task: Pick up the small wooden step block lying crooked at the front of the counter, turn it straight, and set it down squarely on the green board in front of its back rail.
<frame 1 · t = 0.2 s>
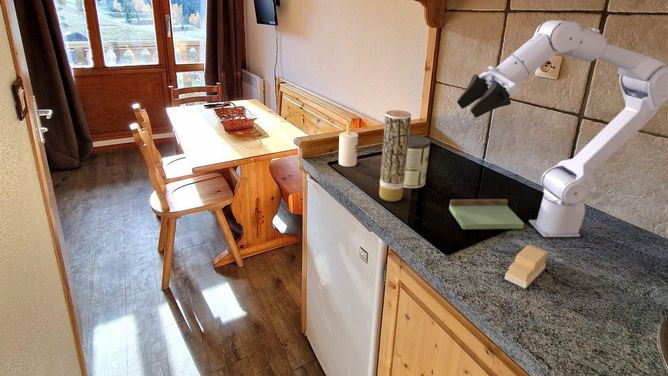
hand: (465, 109, 88), 31 cm above the worktop, tool tilted 45°, fingers open, 7 cm apart
coffee can: (408, 182, 129), on the worktop
wooden step block: (524, 273, 87), on the worktop
green board: (484, 218, 108), on the worktop
candle: (347, 163, 142), on the worktop
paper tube: (390, 197, 119), on the worktop
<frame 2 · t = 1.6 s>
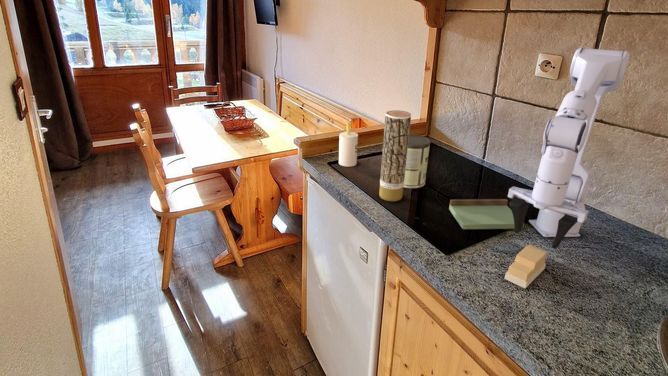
hand: (536, 238, 84), 8 cm above the worktop, tool pointing down, fingers open, 7 cm apart
nothing on the worktop moved.
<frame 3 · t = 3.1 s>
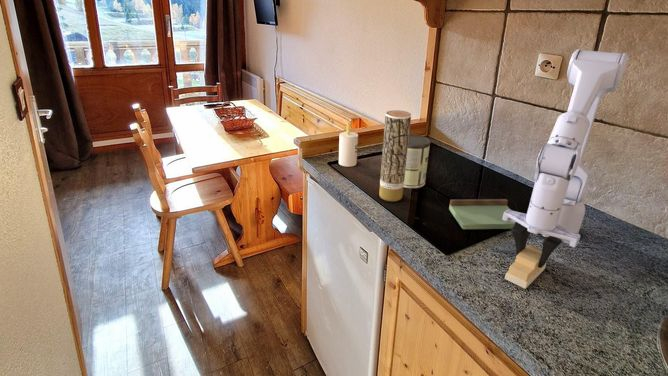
hand: (530, 260, 86), 3 cm above the worktop, tool pointing down, fingers closed on wooden step block, 4 cm apart
wooden step block: (524, 273, 87), on the worktop, touching gripper
everything else where it was.
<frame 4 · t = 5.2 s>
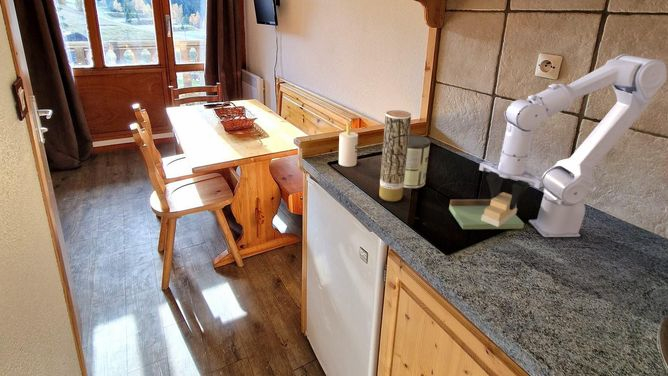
hand: (502, 205, 99), 7 cm above the worktop, tool pointing down, fingers closed on wooden step block, 4 cm apart
wooden step block: (498, 216, 100), point 4 cm above the worktop, touching gripper
everything else where it was.
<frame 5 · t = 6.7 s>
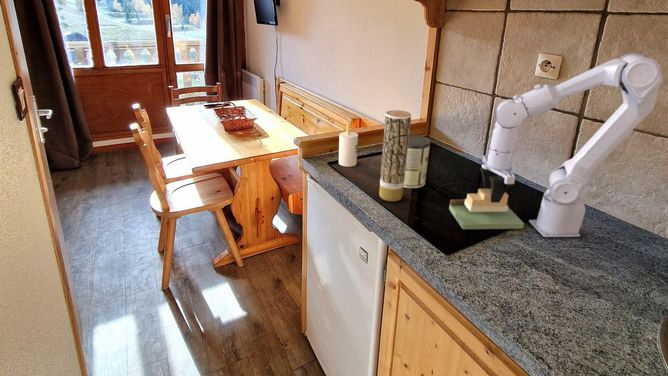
hand: (491, 197, 106), 6 cm above the worktop, tool pointing down, fingers closed on wooden step block, 4 cm apart
wooden step block: (485, 207, 107), point 3 cm above the worktop, touching gripper
everything else where it was.
when the fingers open (4 cm above the worktop, at t = 7.6 s): wooden step block stays where it is, resting on green board.
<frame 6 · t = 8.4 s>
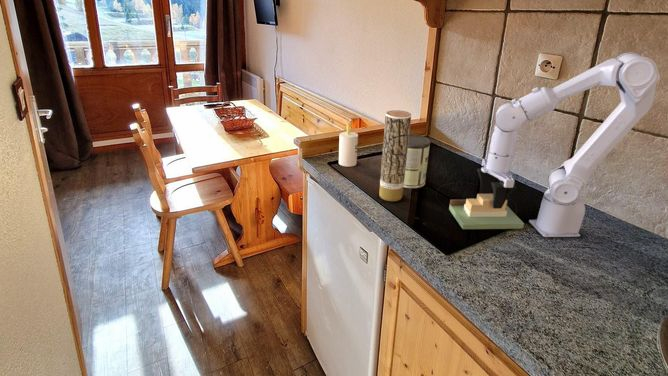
hand: (490, 201, 107), 5 cm above the worktop, tool pointing down, fingers open, 7 cm apart
wooden step block: (484, 212, 108), point 1 cm above the worktop, touching green board
everything else where it was.
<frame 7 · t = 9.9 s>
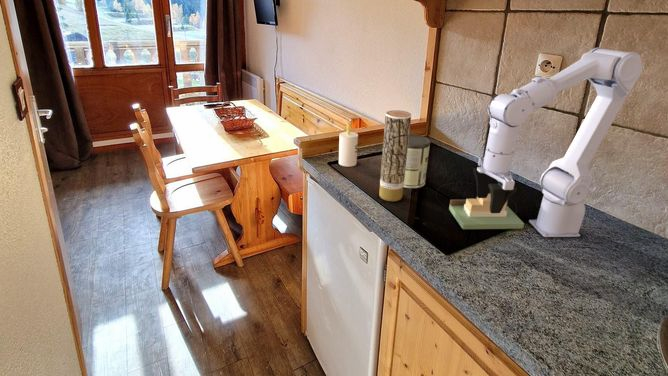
hand: (488, 204, 95), 9 cm above the worktop, tool pointing down, fingers open, 7 cm apart
nothing on the worktop moved.
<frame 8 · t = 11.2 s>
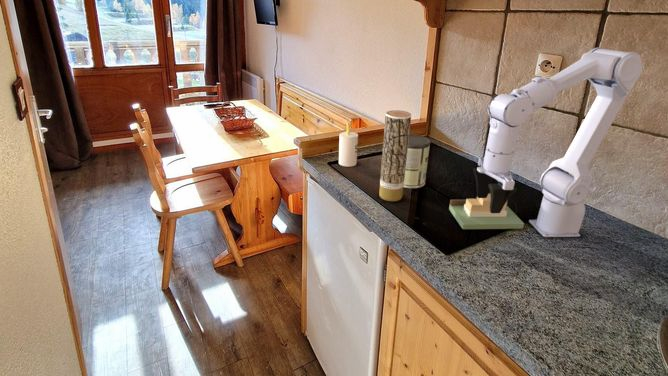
hand: (488, 204, 95), 9 cm above the worktop, tool pointing down, fingers open, 7 cm apart
nothing on the worktop moved.
at the end: wooden step block 0.1 cm off-centre on the green board, point 1.5 cm above the green board's base; wooden step block tilted 0°; the gripper is holding nothing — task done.
